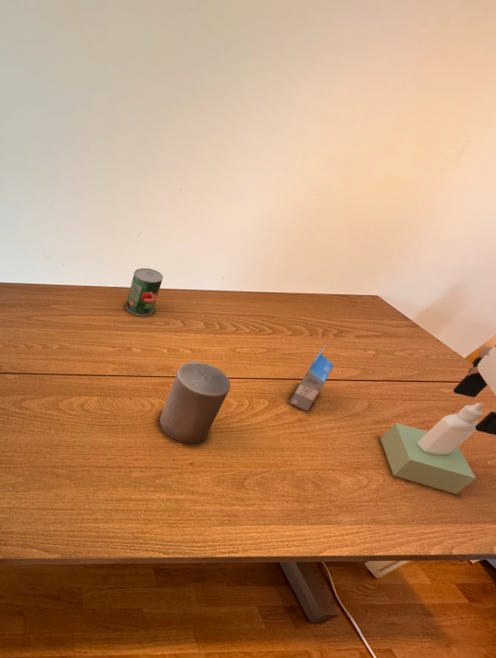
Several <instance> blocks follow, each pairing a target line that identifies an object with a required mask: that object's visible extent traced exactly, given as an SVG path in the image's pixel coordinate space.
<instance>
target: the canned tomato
mask: <svg viewBox="0 0 496 658" xmlns="http://www.w3.org/2000/svg"><path fill="white" fill-rule="evenodd" d="M163 279H164V275H163V274H162V273H161V272H160V271H157V270H156V269H152V268H145V267H144V268H143V267H142V268H141V267H140V268H138V269H135V270H134V272H133V277H132V281H131V285H130V289H129V292H128V296H127V301H126V304H125V308H126V310H127V311H128V312H129V313H131V314H133V315H136V316H139V317H140V316H141V317H145V316H149V315H152V314H153V312H154V308H155V306H156V303H157V299H158V295H159V292H160V289H161V286H162V282H163Z"/></svg>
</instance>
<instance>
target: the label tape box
mask: <svg viewBox="0 0 496 658" xmlns="http://www.w3.org/2000/svg"><path fill="white" fill-rule="evenodd" d="M327 345H328V344H324V346H323V347H322V348H321V349H320V350H319V352H318V353H317V354H316V357H314V359H313V361H312V362H311V364H310V366H309V368H308V370H306V373H305V374H304V376H303V378H302V379H301V381H300V383H299V385H298V386H297V388H296V390H295V392H294V394H293V395H292V397H291V400H289V404H290V405H293V406H294V407H297V408H299V409H302V410H304V411H305V412H306V411H307V412H308V410H310V407H311V405H312V404H313V402H314V400H316V397H317V396H318V394H319V393H320V391H321V390H322V388H323V386H324V384H325V383H326V381H327V380H328V378H329V375H330V373H331V371H332V369H333V368H334V363H333V362H331V361H330V360H329V358H327V357H326V356H325V355H323V354H322V352H323V350H324V348H325V347H326V346H327Z"/></svg>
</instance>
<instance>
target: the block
mask: <svg viewBox="0 0 496 658" xmlns="http://www.w3.org/2000/svg"><path fill="white" fill-rule="evenodd" d="M428 432H429V430H424V429H422V428H421V429H420V428H416V427H413V426H409V425H405V424H401V423H398V422H394V423H393V424H392V425H391V426H390V427H389V429H388V430H386V432H385V433H384V434H383V435H382V436H381V437H380V441H381V444H382V448H383V450H384V453H385V455H386V458H387V461H388V463H389V466H390V469H391V472H392V475H393V477H397V478H400V479H403V480H406V481H411V482H413V483H418V484H420V485H424V486H427V487H430V488H434V489H436V490H441V491H443V492H448V493H451V494H454V495H457V494H459V492H461V491H462V490H463V489H464V488H466V487H467V486H469V484H470V483H472V482H473V481H474V480H476V479H477V478H476V476H475V474H474V472H473V471H472V467H470V465H469V463H468V461H467V459H466V457H465V455H464V454H463V452H462V450H461V448H460V445H459V446H458V447H457V448H456V449H455V450H454V451H452V452H451V453H449V454H447V455H434V454H429V453H426V452H424V451H423V450H422V449H421V448H420V447H419V446H418V444H417V443H418V441H419V440H420V439H421V438H422V437H423V436H425V435H426V434H427V433H428Z"/></svg>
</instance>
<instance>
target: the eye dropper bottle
mask: <svg viewBox="0 0 496 658" xmlns="http://www.w3.org/2000/svg"><path fill="white" fill-rule="evenodd" d="M483 405H484V404H483V403H481V402H476V403H475V404H473V405H472V404H466V405H464V406H463V407H462V408H461V409H460V410H459V411H458V412H457V413H451V414H447V415H446V416H443V417H442V418H441V419H440V420H438V422H436V424H435V425H433V426H432V427H431V428H430V429H429V430H428V433H427V434H426V435H425V436H423V437H422V438H421V439H420V440H419V441H418V443H417V444H418V446H419V447H420V448H421V449H422V450H423V451H424V452H426V453H429V454H434V455H447V454H449V453H451V452H452V451H454V450H455V449H456V448H457V447H458V446H459V447H460V445H461V444H463V443H464V442H465V441H466V440H467V439H468V438H469V437H470V436H471V435H473V434H474V433H475V432H476V431H477V430H476V428H475V426H476V425H477V424H478V423H479V422H478V421H477V420H478V419H479V418H480V417H481V416H482V415H483V414H484V412H483V410H482V407H483Z"/></svg>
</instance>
